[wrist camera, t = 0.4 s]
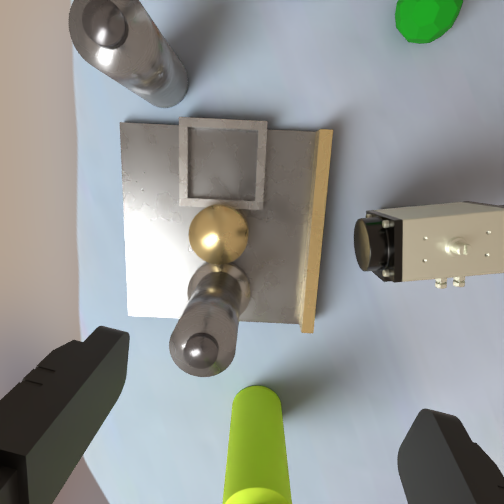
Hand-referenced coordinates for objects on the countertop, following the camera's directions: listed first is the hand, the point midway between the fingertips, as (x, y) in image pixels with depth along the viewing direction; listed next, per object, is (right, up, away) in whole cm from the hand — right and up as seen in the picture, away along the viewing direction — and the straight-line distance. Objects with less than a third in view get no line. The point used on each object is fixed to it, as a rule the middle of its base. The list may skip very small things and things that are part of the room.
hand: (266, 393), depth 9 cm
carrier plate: (-4, +6, +26) cm, 27 cm away
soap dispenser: (0, -14, +31) cm, 34 cm away
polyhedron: (+14, +25, +21) cm, 36 cm away
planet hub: (-9, +20, +23) cm, 32 cm away
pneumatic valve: (+14, +6, +26) cm, 30 cm away
